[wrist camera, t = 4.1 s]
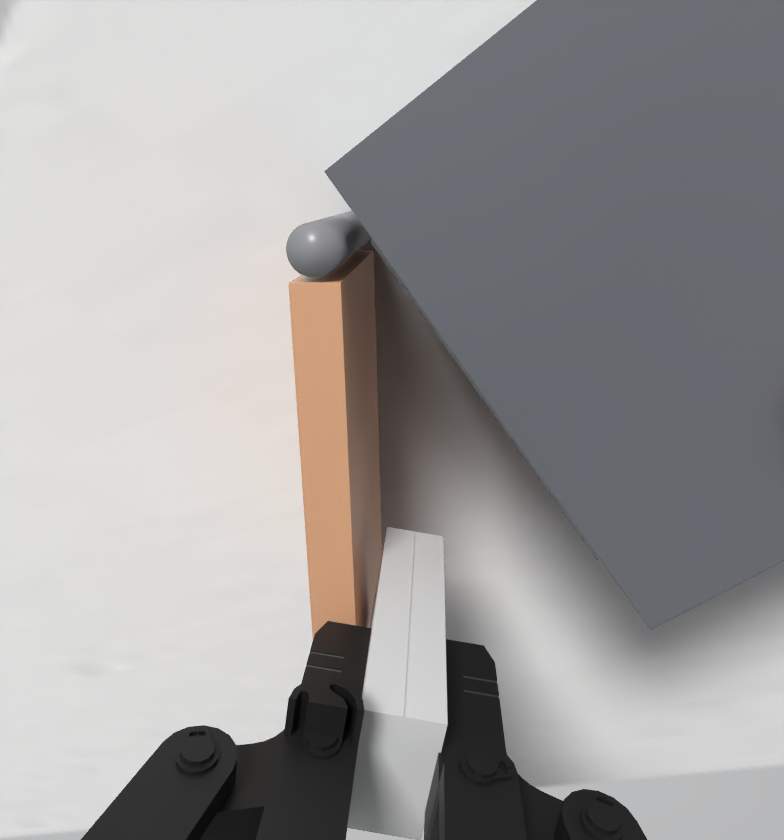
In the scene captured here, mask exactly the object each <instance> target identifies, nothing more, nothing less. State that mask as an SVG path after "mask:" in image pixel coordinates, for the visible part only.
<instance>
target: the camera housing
mask: <svg viewBox="0 0 784 840" xmlns="http://www.w3.org/2000/svg"><path fill="white" fill-rule="evenodd" d="M324 172H325V173H326V174H327V176H328V177H329V179H330V180H331V181H332V183H333V184H334V186H335V187H336V188H337V190H338V191H339V193H340V194H341V196H342V197H343V198H344V200H345V201H346V203H347V204H348V205H349V207H350V208H351V210H352V211H353V212H354V214H355V215H356V217H357V218H358V219H359V221H360V222H361V224H362V225H363V226H364V228H365V229H366V231H367V232H368V233H369V235H370V236H371V238H372V240H371V241H370V242H371V244H372V245H373V247H374V248H375V249H376V251H377V252H378V254H379V255H380V256H381V258H382V259H383V261H384V262H385V263H386V265H387V266H388V268H389V269H390V270H391V272H392V273H393V275H394V276H395V277H396V279H397V280H398V282H399V283H400V284H401V286H402V287H403V289H404V290H405V291H406V293H407V294H408V296H409V297H410V298H411V300H412V301H413V303H414V304H415V306H416V307H417V308H418V310H419V311H420V313H421V314H422V315H423V317H424V318H425V320H426V321H427V322H428V324H429V325H430V327H431V328H432V329H433V331H434V332H435V334H436V335H437V336H438V338H439V339H440V341H441V342H442V343H443V345H444V346H445V348H446V349H447V350H448V352H449V353H450V355H451V356H452V357H453V359H454V360H455V362H456V363H457V364H458V366H459V367H460V369H461V370H462V371H463V373H464V374H465V376H466V377H467V378H468V380H469V381H470V383H471V384H472V385H473V387H474V388H475V390H476V391H477V392H478V394H479V395H480V397H481V398H482V400H483V401H484V402H485V404H486V405H487V407H488V408H489V409H490V411H491V412H492V414H493V415H494V416H495V418H496V419H497V421H498V422H499V423H500V425H501V426H502V428H503V429H504V430H505V432H506V433H507V435H508V436H509V437H510V439H511V440H512V442H513V443H514V444H515V446H516V447H517V449H518V450H519V451H520V453H521V454H522V456H523V457H524V458H525V460H526V461H527V463H528V464H529V465H530V467H531V468H532V470H533V471H534V472H535V474H536V475H537V477H538V478H539V479H540V481H541V482H542V484H543V485H544V486H545V488H546V489H547V491H548V492H549V493H550V495H551V496H552V498H553V499H554V501H555V502H556V503H557V505H558V506H559V508H560V509H561V510H562V512H563V513H564V515H565V516H566V517H567V519H568V520H569V522H570V523H571V524H572V526H573V527H574V529H575V530H576V531H577V533H578V534H579V536H580V537H581V538H582V540H583V541H584V543H585V544H586V545H587V547H588V548H589V550H590V551H591V552H592V554H593V555H594V557H595V558H596V559H597V560H598V559H600V560H601V561H602V563H603V564H604V565H605V567H606V568H607V570H608V571H609V572H610V574H611V575H612V577H613V578H614V579H615V581H616V582H617V584H618V585H619V586H620V588H621V589H622V591H623V592H624V593H625V595H626V596H627V598H628V599H629V601H630V602H631V603H632V605H633V606H634V608H635V609H636V610H637V612H638V613H639V615H640V616H641V617H642V619H643V620H644V622H645V623H646V624H647V626H648V627H649V629H650V630H651V629H653V628H655V627H657V626H659V625H661V624H663V623H664V622H666V621H668V620H670V619H672V618H674V617H676V616H678V615H680V614H682V613H684V612H686V611H688V610H689V609H691V608H693V607H695V606H697V605H699V604H701V603H703V602H705V601H707V600H709V599H711V598H713V597H715V596H716V595H718V594H720V593H722V592H724V591H726V590H728V589H730V588H732V587H734V586H736V585H738V584H740V583H742V582H743V581H745V580H747V579H749V578H751V577H753V576H755V575H757V574H759V573H761V572H763V571H765V570H767V569H768V568H770V567H772V566H774V565H776V564H778V563H780V562H782V561H784V0H537V1H535V2H534V3H533V4H532V5H531V6H529V7H528V8H527V9H526V10H524V11H523V12H522V13H521V14H519V15H518V16H517V17H516V18H514V19H513V20H512V21H511V22H509V23H508V24H507V25H506V26H504V27H503V28H502V29H501V30H499V31H498V32H497V33H496V34H494V35H493V36H492V37H491V38H490V39H488V40H487V41H486V42H485V43H483V44H482V45H481V46H480V47H478V48H477V49H476V50H475V51H473V52H472V53H471V54H470V55H468V56H467V57H466V58H465V59H463V60H462V61H461V62H460V63H458V64H457V65H456V66H455V67H453V68H452V69H451V70H450V71H449V72H447V73H446V74H445V75H444V76H442V77H441V78H440V79H439V80H437V81H436V82H435V83H434V84H432V85H431V86H430V87H429V88H427V89H426V90H425V91H424V92H422V93H421V94H420V95H419V96H417V97H416V98H415V99H414V100H412V101H411V102H410V103H409V104H408V105H406V106H405V107H404V108H403V109H401V110H400V111H399V112H398V113H396V114H395V115H394V116H393V117H391V118H390V119H389V120H388V121H386V122H385V123H384V124H383V125H381V126H380V127H379V128H378V129H376V130H375V131H374V132H373V133H371V134H370V135H369V136H368V137H367V138H365V139H364V140H363V141H362V142H360V143H359V144H358V145H357V146H355V147H354V148H353V149H352V150H350V151H349V152H348V153H347V154H345V155H344V156H343V157H342V158H340V159H339V160H338V161H337V162H335V163H334V164H333V165H332V166H330V167H329V168H328V169H327V170H326V171H324Z"/></svg>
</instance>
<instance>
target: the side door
mask: <svg viewBox="0 0 784 840" xmlns="http://www.w3.org/2000/svg"><path fill="white" fill-rule="evenodd" d="M370 239H371V236H370V235H369V233H368V232H367V231H366V229H365V228H364V226H363V225H362V224H361V222H360V221H359V219H358V218H357V217H356V215H355V214H354V212H353V211H350V212H346V213H343V214H339V215H335V216H331V217H328V218H324V219H320V220H317V221H313V222H309V223H305V224H302V225H300V226H298V227H297V228H296V229H295V230H294V231H293V232H292V233H291V234H290V236H289V238H288V241H287V246H286V252H287V257H288V260H289V262H290V264H291V265H292V267H293V268H294V269H295V270H296V271H297V272H299V273H300V274H302V275H301V276H299V277H297V278H296V279H294V280H293V281H291V282H290V283H289V296H290V311H291V325H292V340H293V355H294V369H295V384H296V398H297V413H298V428H299V442H300V457H301V471H302V486H303V501H304V515H305V530H306V544H307V559H308V574H309V588H310V603H311V618H312V632H313V639H314V635H315V633H316V632H317V631H318V630H319V629H320V628H321V627H322V626H323V625H324V624H325V623H326V622H327V621H332V622H338V623H344V624H350V625H356V626H362V627H367V628H370V624H371V617H372V611H373V605H374V599H375V593H376V588H377V582H378V576H379V570H380V565H381V559H382V530H381V494H380V458H379V422H378V386H377V350H376V314H375V278H374V250H362V251H357V250H359V249H360V248H361V247H362V246H364V245H365V244H366V243H367V242H368V241H369V240H370Z"/></svg>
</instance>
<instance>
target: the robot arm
mask: <svg viewBox="0 0 784 840" xmlns="http://www.w3.org/2000/svg"><path fill="white" fill-rule="evenodd" d="M498 697H499V692H498V684H497V676H496V668H495V662H494V661H493V659H492V658H491V656H490V655H489V653H488V651H487V650H486V648H485V647H484V646H483V645H477V644H471V643H465V642H459V641H453V640H447V639H446V630H445V585H444V541H443V536H439V535H433V534H427V533H421V532H415V531H409V530H403V529H397V528H392V527H387V530H386V536H385V541H384V547H383V553H382V559H381V565H380V570H379V576H378V582H377V588H376V593H375V599H374V605H373V611H372V617H371V624H370V628H367V627H362V626H356V625H350V624H344V623H338V622H332V621H327V622H326V623H325V624H324V625H323V626H322V627H321V628H320V629H319V630H318V631H317V632H316V633H315V635H314V639H313V643H312V646H311V650H310V654H309V658H308V661H307V666H306V669H305V672H304V676H303V680H302V683H301V685H299V686H298V687H296V688H295V689H294V690H293V692H292V694H291V696H290V697H289V701H288V709H287V716H286V724H285V729H284V730H283V731H282V732H281V733H279V734H278V735H277V736H275V737H273V738H271V739H269V740H266V741H264V742H259V743H254V744H245V745H236V744H235V743H234V741H233V740H232V738H231V737H230V735H228V734H226V733H225V732H223V731H222V730H220V729H218V728H214V727H209V726H194V727H187V728H185V729H182V730H180V731H178V732H175V733H173V734H172V735H171V736H170V737H169V738H167V739H166V740H165V741H164V742H163V743H162V744H161V745H160V746H159V748H158V749H157V750H156V751H155V752H154V753H153V755H152V756H151V757H150V758H149V759H148V761H147V762H146V763H145V764H144V765H143V767H142V768H141V769H140V770H139V771H138V772H137V774H136V775H135V776H134V777H133V778H132V780H131V781H130V782H129V783H128V784H127V786H126V787H125V788H124V789H123V790H122V791H121V793H120V794H119V795H118V796H117V797H116V799H115V800H114V801H113V802H112V803H111V805H110V806H109V807H108V808H107V809H106V810H105V812H104V813H103V814H102V815H101V816H100V818H99V819H98V820H97V821H96V822H95V824H94V825H93V826H92V827H91V828H90V829H89V831H88V832H87V833H86V834H85V835H84V837H83V838H82V839H81V840H346V832H347V828H352V829H357V830H363V831H369V832H375V833H381V834H386V835H392V836H398V837H404V838H410V839H416V840H421V837H422V832H423V828H424V840H647V838H646V837H645V835H644V833H643V831H642V830H641V828H640V826H639V824H638V822H637V821H636V820H635V818H634V817H633V816H632V814H631V813H630V812H629V810H628V809H627V808H626V807H625V806H623V805H622V804H621V803H619V802H618V801H617V800H615V799H614V798H613V797H611V796H608V795H606V794H604V793H601V792H599V791H594V790H586V789H583V790H579V791H575V792H572V793H571V794H570V795H569V796H567V797H566V798H565V799H564V801H562V800H559V799H557V798H555V797H553V796H550V795H548V794H546V793H544V792H542V791H540V790H538V789H536V788H535V787H533V786H531V785H530V784H529V783H527V782H526V781H525V780H524V779H522V778H521V777H520V776H519V775H518V773H517V771H516V768H515V765H514V763H513V762H512V760H511V759H510V758H509V757H508V756H507V753H506V748H505V740H504V732H503V724H502V716H501V708H500V700H499V698H498Z"/></svg>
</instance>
